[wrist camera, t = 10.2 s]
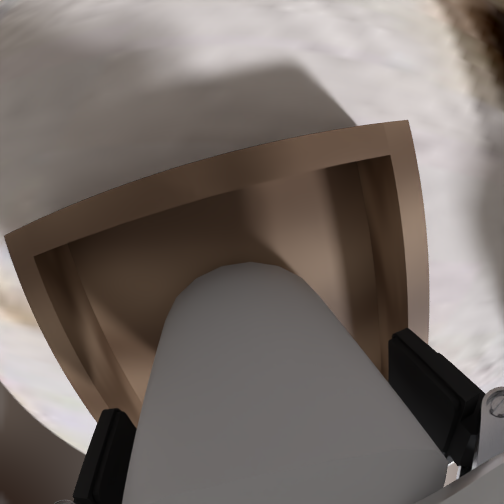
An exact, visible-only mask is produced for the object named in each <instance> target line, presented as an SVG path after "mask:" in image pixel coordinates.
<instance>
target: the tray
mask: <svg viewBox="0 0 504 504" xmlns="http://www.w3.org/2000/svg"><path fill="white" fill-rule="evenodd" d="M4 237H5V241H6V244H7V247H8V250H9V253H10V256H11V259H12V262H13V265H14V268H15V270H16V273H17V276H18V278H19V281H20V284H21V286H22V289H23V291H24V293H25V296H26V298H27V301H28V303H29V305H30V307H31V310H32V312H33V314H34V316H35V318H36V321H37V323H38V325H39V327H40V329H41V331H42V333H43V335H44V337H45V339H46V341H47V343H48V345H49V347H50V348H51V350H52V352H53V354H54V356H55V358H56V359H57V361H58V363H59V365H60V366H61V368H62V370H63V372H64V373H65V375H66V377H67V378H68V380H69V382H70V383H71V385H72V386H73V388H74V389H75V391H76V393H77V394H78V396H79V397H80V399H81V400H82V402H83V403H84V405H85V406H86V408H87V409H88V411H89V412H90V413H91V415H92V416H93V418H94V419H95V420H96V422H97V423H98V420H99V418H100V415H101V413H102V411H103V410H104V409H113V408H119V409H120V410H121V411H124V412H125V413H126V414H127V415H128V417H129V418H130V420H131V421H132V423H133V424H134V426H135V427H136V429H137V426H138V422H139V418H140V413H141V409H142V405H143V401H144V397H145V393H146V389H147V385H148V381H149V377H150V373H151V370H152V366H153V362H154V359H155V355H156V351H157V348H158V344H159V341H160V337H161V334H162V330H163V327H164V323H165V320H166V318H167V316H168V314H169V311H170V309H171V307H172V305H173V303H174V301H175V299H176V297H177V296H178V295H179V294H180V293H181V292H182V291H183V290H185V289H186V288H187V287H188V286H189V285H190V284H191V283H192V282H193V281H194V280H195V279H196V278H198V277H200V276H202V275H204V274H206V273H208V272H211V271H213V270H215V269H217V268H219V267H221V266H226V265H233V264H239V263H246V262H255V263H262V264H268V265H275V266H280V267H282V268H284V269H286V270H287V271H289V272H291V273H293V274H295V275H297V276H299V277H301V278H303V279H304V280H305V281H306V282H307V284H308V285H309V286H310V287H311V288H312V289H313V290H314V291H315V292H316V293H317V294H318V295H319V296H320V298H321V299H322V300H323V301H324V303H325V304H326V305H327V306H328V308H329V309H330V310H331V311H332V312H333V314H334V315H335V316H336V317H337V319H338V320H339V321H340V322H341V324H342V325H343V326H344V327H345V329H346V330H347V331H348V332H349V334H350V335H351V336H352V337H353V339H354V340H355V341H356V342H357V344H358V345H359V346H360V347H361V349H362V350H363V351H364V352H365V354H366V355H367V356H368V357H369V359H370V360H371V361H372V362H373V364H374V365H375V366H376V368H377V369H378V370H379V371H380V373H381V374H382V375H383V376H384V378H385V379H386V380H387V382H388V370H389V367H388V341H389V340H390V339H392V334H394V333H396V332H398V331H401V330H403V329H405V328H409V329H410V330H411V331H413V332H414V333H415V334H416V335H417V336H418V337H420V338H421V339H422V340H423V341H424V342H425V343H427V344H428V333H429V263H428V246H427V233H426V222H425V213H424V204H423V196H422V189H421V183H420V176H419V170H418V165H417V159H416V154H415V149H414V144H413V139H412V135H411V130H410V126H409V122H408V120H402V121H393V122H385V123H377V124H369V125H362V126H355V127H349V128H342V129H336V130H330V131H325V132H319V133H314V134H308V135H303V136H298V137H293V138H288V139H284V140H279V141H274V142H270V143H266V144H261V145H257V146H253V147H249V148H244V149H240V150H236V151H233V152H229V153H225V154H221V155H217V156H214V157H210V158H206V159H203V160H199V161H196V162H192V163H189V164H186V165H182V166H179V167H176V168H173V169H169V170H166V171H163V172H160V173H157V174H154V175H151V176H148V177H145V178H142V179H139V180H136V181H133V182H130V183H127V184H125V185H122V186H119V187H116V188H113V189H111V190H108V191H105V192H103V193H100V194H98V195H95V196H92V197H90V198H87V199H85V200H82V201H80V202H77V203H75V204H72V205H70V206H68V207H65V208H63V209H61V210H58V211H56V212H54V213H51V214H49V215H47V216H45V217H42V218H40V219H38V220H36V221H34V222H31V223H29V224H27V225H25V226H23V227H21V228H19V229H17V230H15V231H13V232H11V233H9V234H6V235H5V236H4Z"/></svg>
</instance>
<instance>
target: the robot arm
mask: <svg viewBox="0 0 504 504" xmlns="http://www.w3.org/2000/svg"><path fill="white" fill-rule="evenodd" d="M388 367H389V370H388V383H389V384H390V385H391V387H392V388H393V389H394V391H395V392H396V393H397V394H398V396H399V397H400V398H401V400H402V401H403V402H404V404H405V405H406V406H407V407H408V409H409V410H410V411H411V413H412V414H413V415H414V417H415V418H416V419H417V421H418V422H419V423H420V424H421V426H422V427H423V428H424V430H425V431H426V432H427V434H428V435H429V436H430V438H431V439H432V440H433V442H434V443H435V444H436V446H437V447H438V448H439V450H440V451H441V452H442V454H443V455H444V457H445V458H446V459H447V461H448V464H449V463H451V462H452V461H454V462H455V463H456V464H457V466H459V467H458V472H457V477H456V480H455V481H454V482H452V483H451V484H449V485H447V486H446V487H444V488H442V489H440V490H439V491H437V492H435V493H433V494H431V495H430V496H428V497H426V498H424V499H422V500H420V501H418V502H416V503H414V504H504V387H497V388H494V389H492V390H490V391H489V392H488V393H486V394H485V393H484V392H483V391H482V390H481V389H480V388H478V387H477V386H476V385H475V384H474V383H473V382H472V381H471V380H470V379H469V378H467V377H466V376H465V375H464V374H463V373H462V372H461V371H460V370H459V369H457V368H456V367H455V366H454V365H453V364H452V363H451V362H450V361H448V360H447V359H446V358H445V357H444V356H443V355H441V354H440V353H437V352H436V351H434V350H433V349H432V348H431V347H430V346H429V345H428V344H427V343H425V342H424V341H423V340H422V339H421V338H420V337H418V336H417V335H416V334H415V333H414V332H413V331H411V330H410V329H409V328H405V329H403V330H401V331H398V332H396V333H394V334H392V339H390V340H389V341H388ZM136 431H137V429H136V427H135V426H134V424H133V423H132V421H131V420H130V418H129V417H128V415H127V414H126V413H125V412H124V411H121V410H120V409H119V408H113V409H104V410H103V411H102V413H101V415H100V418H99V420H98V423H97V426H96V428H95V431H94V434H93V437H92V439H91V442H90V445H89V448H88V451H87V454H86V456H85V460H84V462H83V465H82V468H81V472H80V474H79V478H78V481H77V484H76V487H75V490H74V493H73V498H74V501H73V502H72V501H68V500H61V501H58V502H56V503H54V504H122V500H123V495H124V489H125V484H126V478H127V473H128V468H129V463H130V458H131V453H132V449H133V444H134V439H135V435H136Z"/></svg>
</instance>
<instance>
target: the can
mask: <svg viewBox="0 0 504 504" xmlns="http://www.w3.org/2000/svg"><path fill="white" fill-rule="evenodd" d="M447 467H448V461H447V459H446V458H445V457H444V455H443V454H442V452H441V451H440V450H439V448H438V447H437V446H436V444H435V443H434V442H433V440H432V439H431V438H430V436H429V435H428V434H427V432H426V431H425V430H424V428H423V427H422V426H421V424H420V423H419V422H418V421H417V419H416V418H415V417H414V415H413V414H412V413H411V411H410V410H409V409H408V407H407V406H406V405H405V404H404V402H403V401H402V400H401V398H400V397H399V396H398V394H397V393H396V392H395V391H394V389H393V388H392V387H391V385H390V384H389V383H388V382H387V380H386V379H385V378H384V376H383V375H382V374H381V373H380V371H379V370H378V369H377V368H376V366H375V365H374V364H373V362H372V361H371V360H370V359H369V357H368V356H367V355H366V354H365V352H364V351H363V350H362V349H361V347H360V346H359V345H358V344H357V342H356V341H355V340H354V339H353V337H352V336H351V335H350V334H349V332H348V331H347V330H346V329H345V327H344V326H343V325H342V324H341V322H340V321H339V320H338V319H337V317H336V316H335V315H334V314H333V312H332V311H331V310H330V309H329V308H328V306H327V305H326V304H325V303H324V301H323V300H322V299H321V298H320V296H319V295H318V294H317V293H316V292H315V291H314V290H313V289H312V288H311V287H310V286H309V285H308V284H307V282H306V281H305V280H304V279H303V278H301V277H299V276H297V275H295V274H293V273H291V272H289V271H287V270H286V269H284V268H282V267H280V266H275V265H268V264H262V263H255V262H246V263H239V264H233V265H226V266H221V267H219V268H217V269H215V270H213V271H211V272H208V273H206V274H204V275H202V276H200V277H198V278H196V279H195V280H194V281H193V282H192V283H191V284H190V285H189V286H188V287H187V288H186V289H185V290H183V291H182V292H181V293H180V294H179V295H178V296H177V297H176V299H175V301H174V303H173V305H172V307H171V309H170V311H169V314H168V316H167V318H166V320H165V323H164V327H163V330H162V334H161V337H160V341H159V344H158V348H157V351H156V355H155V359H154V362H153V366H152V370H151V373H150V377H149V381H148V385H147V389H146V393H145V397H144V401H143V405H142V409H141V413H140V418H139V422H138V426H137V431H136V435H135V439H134V444H133V449H132V453H131V458H130V463H129V468H128V473H127V478H126V484H125V489H124V495H123V500H122V504H414V503H416V502H418V501H420V500H422V499H424V498H426V497H428V496H430V495H431V494H433V493H435V492H437V491H439V490H440V489H442V488H443V486H444V483H445V478H446V473H447Z"/></svg>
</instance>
